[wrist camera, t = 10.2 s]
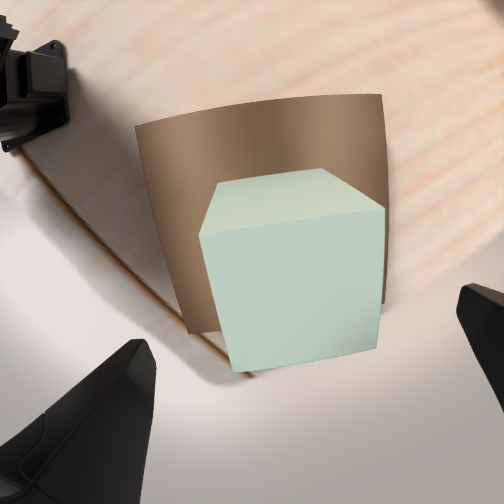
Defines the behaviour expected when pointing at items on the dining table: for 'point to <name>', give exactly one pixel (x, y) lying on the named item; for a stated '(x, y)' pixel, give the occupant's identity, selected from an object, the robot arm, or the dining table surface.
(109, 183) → the dining table surface
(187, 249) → the walnut base
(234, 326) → the sage block
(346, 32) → the dining table surface
